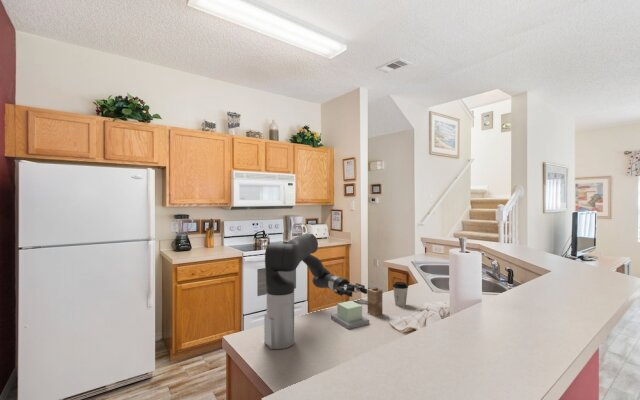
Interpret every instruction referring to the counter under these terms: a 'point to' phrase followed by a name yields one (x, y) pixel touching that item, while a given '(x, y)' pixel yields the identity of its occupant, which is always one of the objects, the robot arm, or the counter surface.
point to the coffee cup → (400, 293)
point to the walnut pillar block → (375, 301)
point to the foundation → (349, 315)
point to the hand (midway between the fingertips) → (359, 293)
